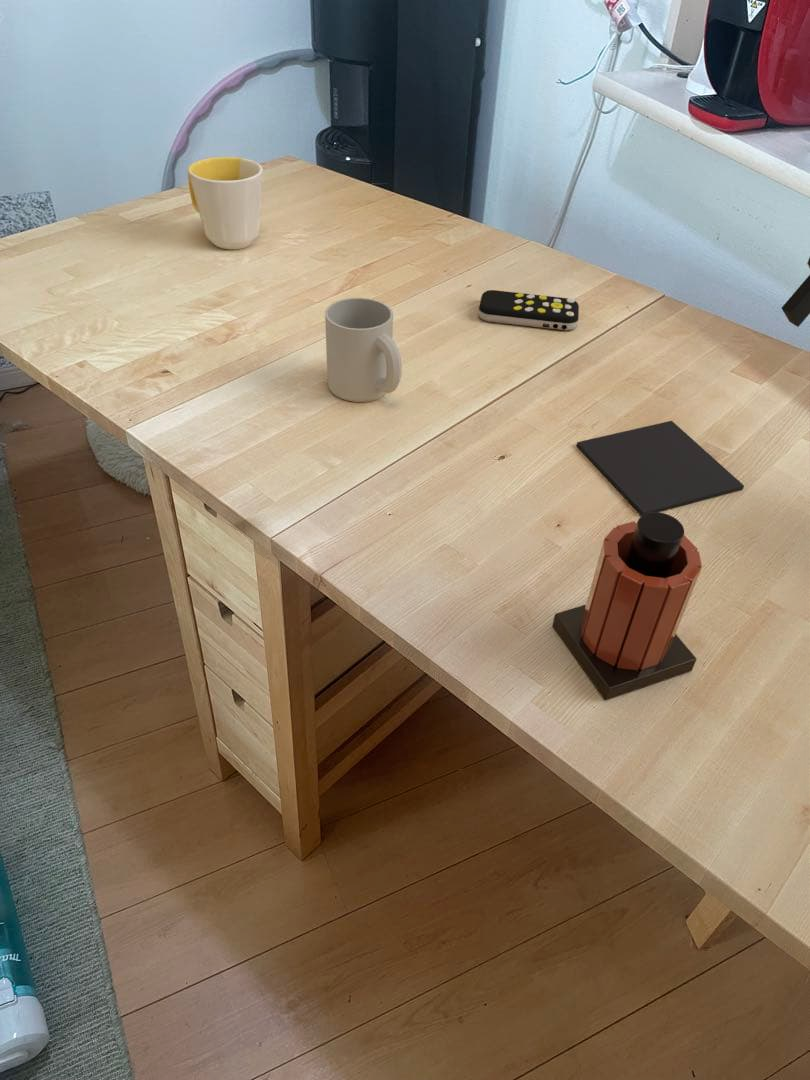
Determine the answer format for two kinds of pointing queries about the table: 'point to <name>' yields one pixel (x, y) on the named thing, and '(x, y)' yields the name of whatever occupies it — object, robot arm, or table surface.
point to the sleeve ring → (636, 604)
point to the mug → (227, 199)
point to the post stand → (650, 558)
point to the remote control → (529, 310)
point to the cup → (361, 350)
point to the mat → (658, 467)
